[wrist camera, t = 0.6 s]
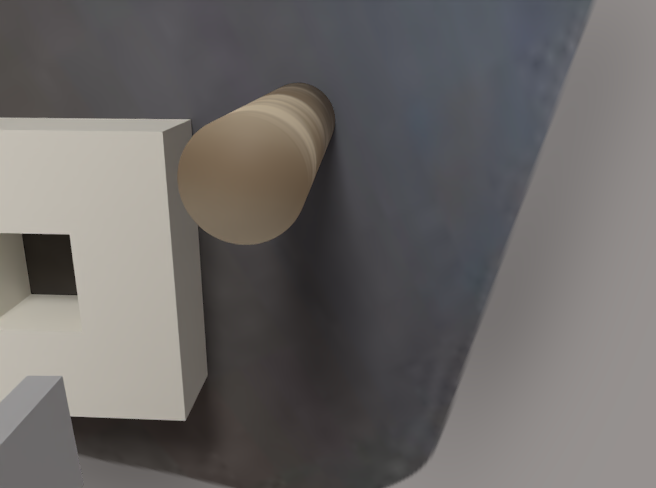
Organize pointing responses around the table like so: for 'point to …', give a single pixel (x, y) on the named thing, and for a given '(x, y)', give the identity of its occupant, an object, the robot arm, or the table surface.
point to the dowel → (256, 164)
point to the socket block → (103, 265)
